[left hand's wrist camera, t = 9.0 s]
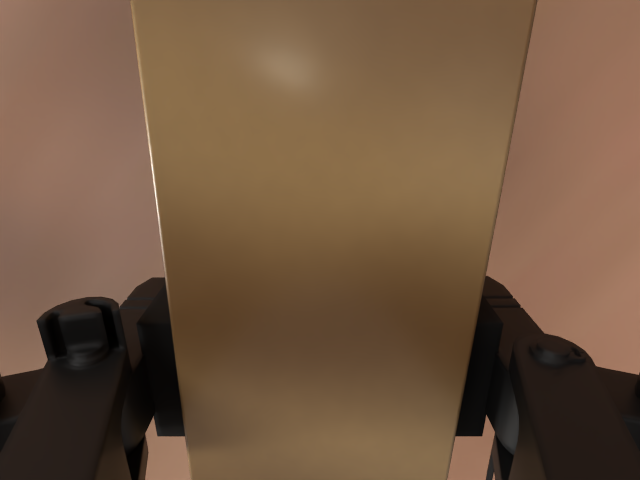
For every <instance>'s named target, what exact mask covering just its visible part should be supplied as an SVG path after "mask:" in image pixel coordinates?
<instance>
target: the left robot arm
mask: <svg viewBox="0 0 640 480" xmlns="http://www.w3.org/2000/svg"><path fill="white" fill-rule="evenodd" d="M37 324H38V328H39V331H40V334H41V338H42V341H43V345H44V348H45V351H46V355H47V358H48V361H47V363H46V365H45V367H44V368H43V369H39V370H34V371H29V372H24V373H19V374H14V375H9V376H4V377H1V374H0V480H145V475H146V467H147V459H148V446H147V440H146V436H145V433H146V431H147V428H148V426H149V424H150V422H151V420H152V418H153V416H154V420H155V425H156V431H157V436H185V431H184V423H183V415H182V407H181V399H180V391H179V384H178V376H177V368H176V360H175V352H174V344H173V336H172V328H171V320H170V312H169V304H168V297H167V289H166V281H165V278H151V279H149V280H147V281H146V282H144V283H142V284H141V285H139V286H137V287H136V288H135V289H134V290H133V292H132V293H131V294H130V295H129V296H128V298H127V300H125V301H124V302H123V304H122V305H121V306H120V309H119V304H118V303H117V302H116V301H114V300H113V299H110V298H105V297H86V298H81V299H76V300H71V301H69V302H66V303H63V304H60V305H57V306H55V307H54V308H52V309H50V310H48V311H47V312H45V313H44V314H43V315H42V316H41V317H40V318H39V319H38V320H37ZM486 414H487V416H488V418H489V421H490V423H491V425H492V427H493V429H494V431H495V436H494V440H493V445H492V450H491V455H490V460H489V465H488V470H487V476H486V480H492V478H493V474H495V480H640V373H639V375H636V374H631V373H626V372H621V371H616V370H611V369H606V368H601V367H597V366H595V364H594V362H593V360H592V359H591V357H590V356H589V355H588V354H587V353H586V351H585V350H583V349H582V348H580V347H579V346H577V345H576V344H574V343H573V342H570V341H568V340H565V339H563V338H561V337H558V336H553V335H549V334H545V333H543V331H542V330H541V329H540V328H539V327H538V325H537V324H536V323H535V322H534V321H533V320H532V318H531V317H530V316H529V315H528V314H527V313H526V311H525V310H524V309H523V308H521V307H520V304H519V303H518V302H517V301H516V300H515V298H513V296H512V295H511V294H510V292H509V291H508V290H507V289H506V288H505V287H504V285H502V284H500V283H499V282H497V281H495V280H493V279H492V278H490V277H488V276H485V281H484V286H483V292H482V297H481V302H480V308H479V313H478V318H477V324H476V329H475V334H474V340H473V345H472V350H471V356H470V361H469V366H468V371H467V377H466V382H465V387H464V393H463V398H462V403H461V409H460V414H459V419H458V425H457V430H456V435H455V436H482V434H483V429H484V424H485V419H486Z"/></svg>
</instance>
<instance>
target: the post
mask: <svg viewBox="0 0 640 480" xmlns="http://www.w3.org/2000/svg"><path fill="white" fill-rule="evenodd" d="M130 4H131V12H132V20H133V28H134V35H135V43H136V51H137V59H138V67H139V75H140V83H141V91H142V99H143V107H144V115H145V123H146V130H147V138H148V146H149V154H150V162H151V170H152V178H153V186H154V194H155V202H156V210H157V217H158V225H159V233H160V241H161V249H162V257H163V265H164V273H165V281H166V289H167V297H168V304H169V312H170V320H171V328H172V336H173V344H174V352H175V360H176V368H177V376H178V384H179V391H180V399H181V407H182V415H183V423H184V431H185V439H186V447H187V455H188V463H189V471H190V479H191V480H447V478H448V472H449V467H450V462H451V456H452V451H453V446H454V440H455V435H456V430H457V425H458V419H459V414H460V409H461V403H462V398H463V393H464V387H465V382H466V377H467V371H468V366H469V361H470V356H471V350H472V345H473V340H474V334H475V329H476V324H477V318H478V313H479V308H480V302H481V297H482V292H483V286H484V281H485V276H486V271H487V265H488V260H489V255H490V249H491V244H492V239H493V233H494V228H495V223H496V217H497V212H498V207H499V202H500V196H501V191H502V186H503V180H504V175H505V170H506V164H507V159H508V154H509V148H510V143H511V138H512V133H513V127H514V122H515V117H516V111H517V106H518V101H519V95H520V90H521V85H522V79H523V74H524V69H525V63H526V58H527V53H528V48H529V42H530V37H531V32H532V26H533V21H534V16H535V10H536V5H537V0H130Z"/></svg>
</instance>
